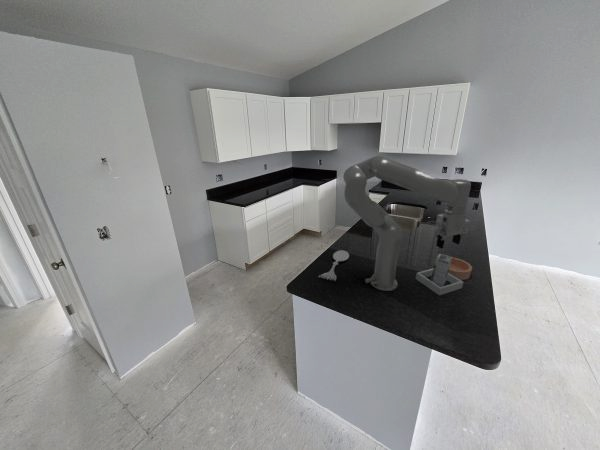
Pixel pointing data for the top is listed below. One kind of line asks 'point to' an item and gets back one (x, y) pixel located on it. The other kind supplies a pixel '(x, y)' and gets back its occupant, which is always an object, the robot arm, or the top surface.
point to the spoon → (338, 257)
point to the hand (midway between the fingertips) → (447, 245)
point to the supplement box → (465, 223)
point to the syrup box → (441, 269)
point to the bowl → (460, 269)
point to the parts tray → (438, 290)
